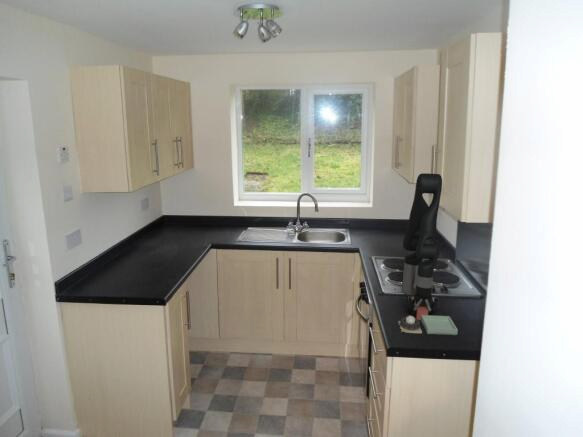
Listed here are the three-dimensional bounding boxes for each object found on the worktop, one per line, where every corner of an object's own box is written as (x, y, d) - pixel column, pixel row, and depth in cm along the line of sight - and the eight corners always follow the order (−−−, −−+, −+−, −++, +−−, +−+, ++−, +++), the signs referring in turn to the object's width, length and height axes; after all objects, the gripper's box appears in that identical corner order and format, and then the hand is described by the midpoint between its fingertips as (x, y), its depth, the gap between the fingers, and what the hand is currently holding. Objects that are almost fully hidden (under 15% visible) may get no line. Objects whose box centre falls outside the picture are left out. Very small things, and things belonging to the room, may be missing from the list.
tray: (420, 319, 214) (421, 315, 213) (448, 321, 213) (449, 316, 212) (427, 333, 201) (427, 328, 200) (457, 335, 200) (457, 329, 200)
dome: (404, 322, 207) (405, 313, 206) (413, 322, 207) (414, 314, 206) (406, 326, 203) (407, 317, 202) (415, 326, 203) (416, 318, 202)
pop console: (398, 323, 210) (398, 316, 209) (417, 323, 210) (418, 317, 209) (401, 332, 202) (402, 325, 201) (421, 333, 201) (422, 326, 200)
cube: (414, 315, 219) (415, 305, 217) (424, 315, 218) (425, 306, 217) (416, 320, 214) (417, 310, 213) (427, 320, 214) (428, 310, 212)
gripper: (437, 281, 215) (434, 313, 219) (407, 280, 216) (404, 312, 220) (441, 288, 208) (438, 321, 212) (410, 286, 208) (407, 319, 212)
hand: (420, 316), depth 216 cm, fingers open, 5 cm apart
